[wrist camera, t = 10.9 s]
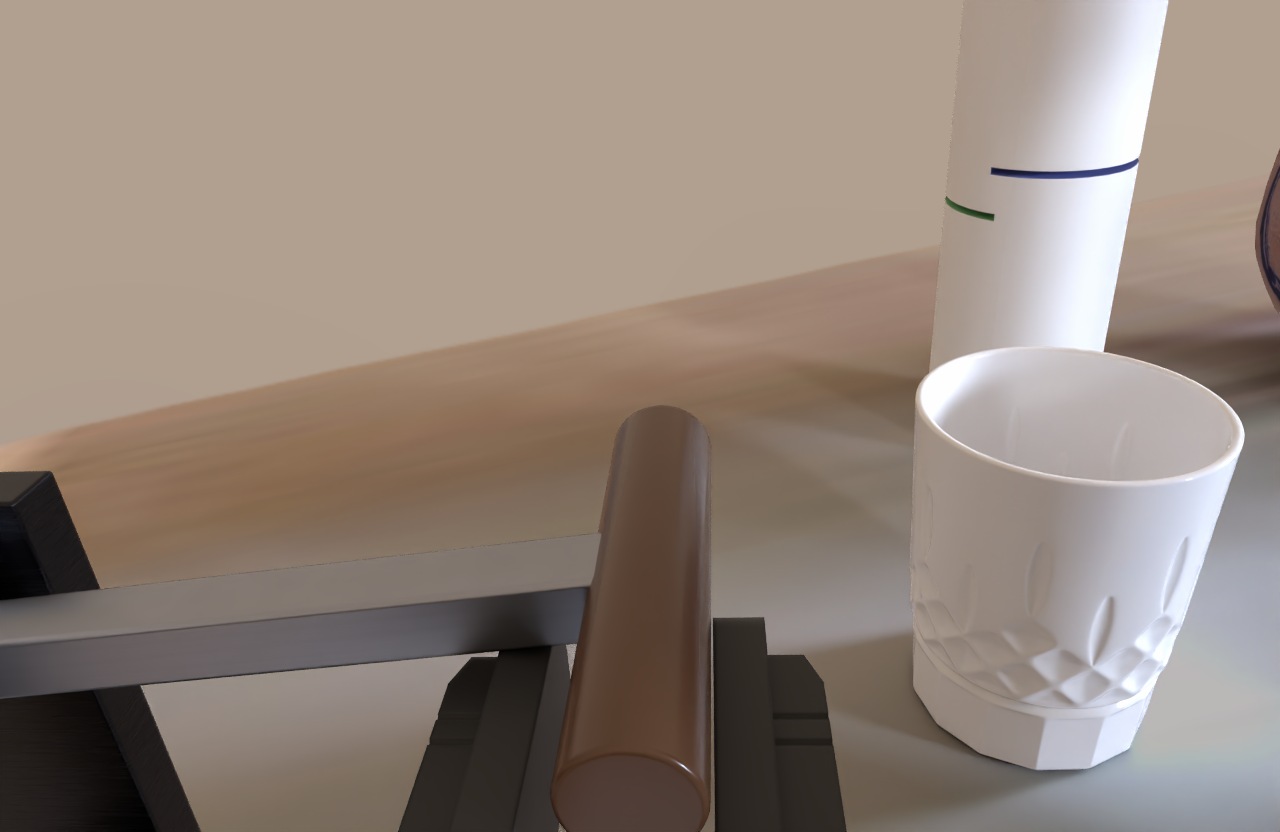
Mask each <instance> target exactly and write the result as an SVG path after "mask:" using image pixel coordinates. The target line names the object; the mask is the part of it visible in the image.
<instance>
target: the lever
mask: <svg viewBox="0 0 1280 832" xmlns="http://www.w3.org/2000/svg"><path fill="white" fill-rule="evenodd" d="M568 644H577V648H576V653H575V659H574V664H573V670H572V675H571V680H570V686H569V691H568V696H567V702H566V707H565V712H564V718H563V723H562V729H561V734H560V739H559V745H558V750H557V755H556V761H555V766H554V772H553V777H552V782H551V788H550V800H551V804H552V808H553V811H554V813H555V816H556V818H557V820H558V821H559V823H560V824H561V826H562V827H563V828H564V829H565V830H566V831H567V832H700V831H701V829H702V828H703V826H704V824H705V822H706V820H707V818H708V815H709V812H710V803H711V442H710V438H709V435H708V433H707V431H706V429H705V427H704V426H703V425H702V423H701V422H700V421H699V420H698V419H697V418H695V417H694V416H693V415H691V414H690V413H688V412H686V411H684V410H682V409H680V408H676V407H672V406H663V405H660V406H652V407H647V408H644V409H642V410H640V411H637V412H636V413H634V414H632V415H631V416H630V417H629V418H627V419H626V420H625V422H624V423H623V424H622V425H621V427H620V428H619V430H618V432H617V435H616V439H615V444H614V449H613V455H612V460H611V466H610V471H609V476H608V482H607V487H606V492H605V498H604V503H603V509H602V514H601V519H600V525H599V530H598V533H595V534H586V535H577V536H568V537H560V538H551V539H542V540H533V541H524V542H515V543H506V544H497V545H488V546H480V547H471V548H462V549H453V550H444V551H435V552H426V553H417V554H408V555H400V556H391V557H382V558H373V559H364V560H355V561H346V562H337V563H329V564H320V565H311V566H302V567H293V568H284V569H275V570H266V571H257V572H249V573H240V574H231V575H222V576H213V577H204V578H195V579H186V580H177V581H169V582H160V583H151V584H142V585H133V586H124V587H115V588H106V589H98V590H89V591H80V592H71V593H62V594H53V595H44V596H35V597H26V598H18V599H9V600H0V699H2V698H12V697H23V696H33V695H44V694H54V693H65V692H75V691H86V690H96V689H107V688H117V687H128V686H138V685H149V684H159V683H170V682H180V681H191V680H201V679H211V678H222V677H232V676H243V675H253V674H264V673H274V672H285V671H295V670H306V669H316V668H327V667H337V666H348V665H358V664H369V663H379V662H390V661H400V660H410V659H421V658H431V657H442V656H452V655H463V654H473V653H484V652H494V651H505V650H515V649H526V648H536V647H547V646H557V645H568Z"/></svg>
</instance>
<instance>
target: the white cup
mask: <svg viewBox="0 0 1280 832" xmlns="http://www.w3.org/2000/svg"><path fill="white" fill-rule="evenodd" d="M1243 443H1244V429H1243V425H1242V423H1241V421H1240V419H1239V417H1238V416H1237V414H1236V413H1235V411H1234V410H1233V409H1232V408H1231V407H1230V406H1229V405H1228V404H1227V403H1226V402H1225V401H1224V400H1223V399H1222V398H1220V397H1219V396H1218V395H1216V394H1215V393H1214V392H1212V391H1211V390H1209V389H1208V388H1206V387H1204V386H1203V385H1201V384H1199V383H1197V382H1195V381H1193V380H1191V379H1189V378H1187V377H1185V376H1183V375H1181V374H1178V373H1176V372H1173V371H1171V370H1168V369H1166V368H1163V367H1160V366H1157V365H1154V364H1151V363H1148V362H1144V361H1141V360H1137V359H1133V358H1129V357H1125V356H1121V355H1116V354H1111V353H1106V352H1100V351H1093V350H1086V349H1078V348H1067V347H1050V346H1024V347H1008V348H998V349H991V350H985V351H980V352H975V353H971V354H967V355H964V356H961V357H958V358H955V359H952V360H950V361H948V362H946V363H943V364H942V365H940V366H938V367H936V368H935V369H933V370H932V371H931V372H930V373H928V374H927V375H926V376H925V377H924V378H923V380H922V381H921V382H920V384H919V386H918V388H917V391H916V396H915V429H914V461H913V488H912V522H911V551H910V573H911V594H910V606H911V609H912V612H913V615H914V616H913V622H914V636H913V688H914V690H915V691H916V693H917V694H918V696H919V697H920V699H921V700H922V702H923V704H924V705H925V707H926V708H927V710H928V711H929V713H930V714H931V716H932V717H933V719H934V720H935V722H936V723H937V724H938V725H939V726H941V727H942V728H944V729H945V730H946V731H948V732H949V733H951V734H952V735H954V736H955V737H957V738H958V739H960V740H961V741H962V742H964V743H965V744H967V745H968V746H970V747H971V748H973V749H974V750H975V751H977V752H978V753H980V754H983V755H986V756H990V757H993V758H996V759H1000V760H1003V761H1006V762H1010V763H1013V764H1016V765H1020V766H1023V767H1026V768H1030V769H1033V770H1066V769H1089V768H1092V767H1094V766H1096V765H1098V764H1100V763H1102V762H1104V761H1106V760H1108V759H1110V758H1112V757H1114V756H1116V755H1118V754H1120V753H1122V752H1124V751H1126V750H1128V749H1129V748H1130V746H1131V744H1132V742H1133V740H1134V737H1135V735H1136V733H1137V731H1138V729H1139V727H1140V725H1141V722H1142V720H1143V718H1144V716H1145V713H1146V710H1147V707H1148V704H1149V701H1150V698H1151V695H1152V692H1153V689H1154V685H1155V682H1156V680H1157V677H1158V675H1159V674H1160V673H1161V672H1162V671H1163V669H1164V668H1165V667H1166V665H1167V662H1168V660H1169V657H1170V654H1171V651H1172V648H1173V644H1174V640H1175V638H1176V636H1177V634H1178V632H1179V630H1180V628H1181V626H1182V623H1183V620H1184V617H1185V615H1186V612H1187V609H1188V606H1189V603H1190V600H1191V597H1192V594H1193V591H1194V588H1195V585H1196V582H1197V579H1198V576H1199V573H1200V570H1201V567H1202V564H1203V561H1204V558H1205V555H1206V553H1207V550H1208V547H1209V544H1210V541H1211V538H1212V535H1213V532H1214V529H1215V526H1216V523H1217V520H1218V517H1219V514H1220V511H1221V508H1222V505H1223V502H1224V499H1225V496H1226V493H1227V490H1228V487H1229V484H1230V481H1231V478H1232V476H1233V473H1234V470H1235V467H1236V464H1237V461H1238V458H1239V455H1240V452H1241V449H1242V447H1243Z"/></svg>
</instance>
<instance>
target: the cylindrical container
mask: <svg viewBox="0 0 1280 832" xmlns="http://www.w3.org/2000/svg"><path fill="white" fill-rule="evenodd" d="M1168 1H1169V0H963V11H962V21H961V34H960V43H959V54H958V65H957V77H956V86H955V98H954V108H953V119H952V130H951V142H950V151H949V162H948V173H947V185H946V195H947V196H946V198H945V207H944V218H943V228H942V238H941V249H940V260H939V271H938V282H937V293H936V304H935V315H934V326H933V337H932V347H931V358H930V369H929V373H930V372H931V371H932V370H933V369H935V368H936V367H938V366H940V365H942V364H943V363H946V362H948V361H950V360H952V359H955V358H958V357H961V356H964V355H967V354H971V353H975V352H980V351H985V350H991V349H998V348H1008V347H1024V346H1050V347H1067V348H1078V349H1086V350H1093V351H1100V352H1103V351H1104V346H1105V340H1106V335H1107V329H1108V324H1109V319H1110V313H1111V308H1112V302H1113V297H1114V292H1115V286H1116V281H1117V276H1118V270H1119V265H1120V259H1121V254H1122V249H1123V243H1124V238H1125V233H1126V227H1127V222H1128V216H1129V211H1130V206H1131V200H1132V195H1133V189H1134V184H1135V179H1136V173H1137V168H1138V163H1139V160H1138V157H1139V155H1140V152H1141V147H1142V141H1143V136H1144V130H1145V125H1146V120H1147V114H1148V109H1149V103H1150V98H1151V93H1152V87H1153V82H1154V76H1155V70H1156V66H1157V60H1158V55H1159V49H1160V44H1161V38H1162V33H1163V27H1164V22H1165V17H1166V11H1167V6H1168Z"/></svg>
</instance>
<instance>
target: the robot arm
mask: <svg viewBox="0 0 1280 832" xmlns="http://www.w3.org/2000/svg"><path fill="white" fill-rule="evenodd" d="M713 674H714V773H715V832H847V831H846V824H845V818H844V811H843V805H842V798H841V792H840V785H839V779H838V773H837V766H836V760H835V753H834V747H833V744H832V734H831V727H830V721H829V718H828V708H827V702H826V695H825V689H824V682H823V681H822V679H821V678H820V677H819V675H818V674H817V672H816V671H815V670H814V668H813V667H812V665H811V664H810V663H809V661H808V660H807V659H806V657H805V656H804V655H767V643H766V631H765V621H764V617H754V618H713ZM570 680H571V679H570V671H569V664H568V656H567V648H566V645H557V646H547V647H536V648H526V649H515V650H505V651H499V654H498V657H471V659H470V660H469V661H468V662H467V663H466V664H465V665H464V666H463V668H462V669H461V670H460V671H459V672H458V673H457V674H456V676H455V677H454V678H453V679H452V680H451V681H450V682H449V683H448V686H447V689H446V692H445V695H444V698H443V701H442V704H441V707H440V710H439V712H438V720H436V721H435V724H434V727H433V730H432V733H431V736H430V744H429V745H427V748H426V751H425V754H424V757H423V760H422V763H421V766H420V768H419V771H418V774H417V777H416V780H415V783H414V786H413V789H412V792H411V795H410V798H409V801H408V804H407V807H406V810H405V813H404V816H403V819H402V822H401V825H400V827H399V830H398V832H558V829H559V821H558V820H557V818H556V816H555V813H554V811H553V808H552V804H551V800H550V788H551V782H552V777H553V772H554V766H555V761H556V755H557V750H558V745H559V739H560V734H561V729H562V723H563V718H564V712H565V707H566V702H567V696H568V691H569V686H570Z"/></svg>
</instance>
